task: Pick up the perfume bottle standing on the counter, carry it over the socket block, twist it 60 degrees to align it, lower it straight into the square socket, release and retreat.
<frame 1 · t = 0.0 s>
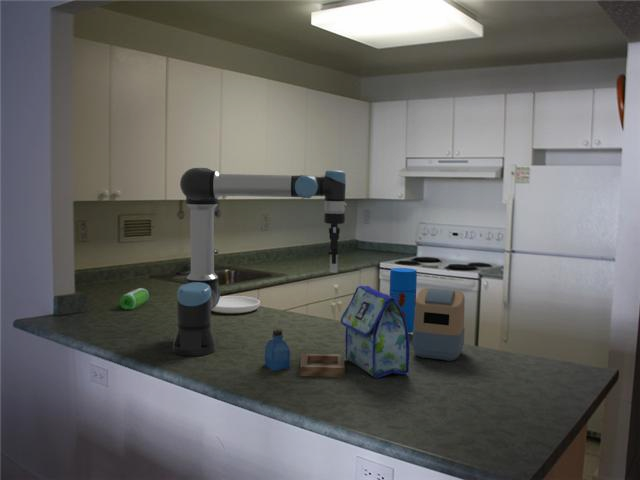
hand: (333, 269, 226), 28 cm above the worktop, fingers open, 13 cm apart
perfume bottle: (277, 367, 200), on the worktop
thermos: (401, 330, 250), on the worktop
socket block: (322, 369, 198), on the worktop
alarm clock: (437, 355, 216), on the worktop
lunch bag: (373, 368, 201), on the worktop
speaker: (134, 306, 284), on the worktop
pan: (219, 307, 287), on the worktop
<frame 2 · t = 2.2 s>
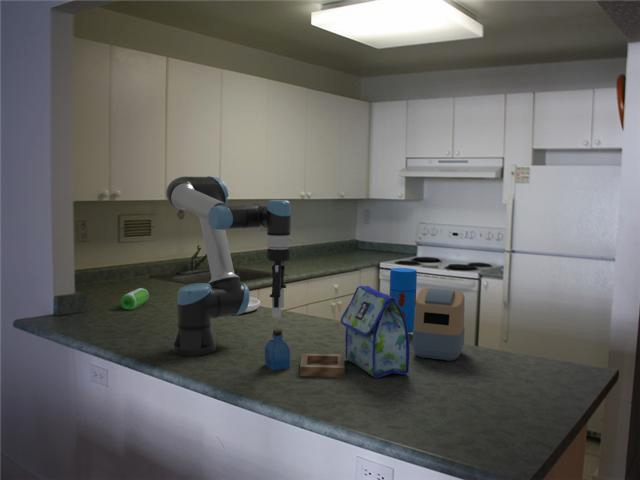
hand: (278, 312, 198), 18 cm above the worktop, fingers open, 13 cm apart
nothing on the worktop moved.
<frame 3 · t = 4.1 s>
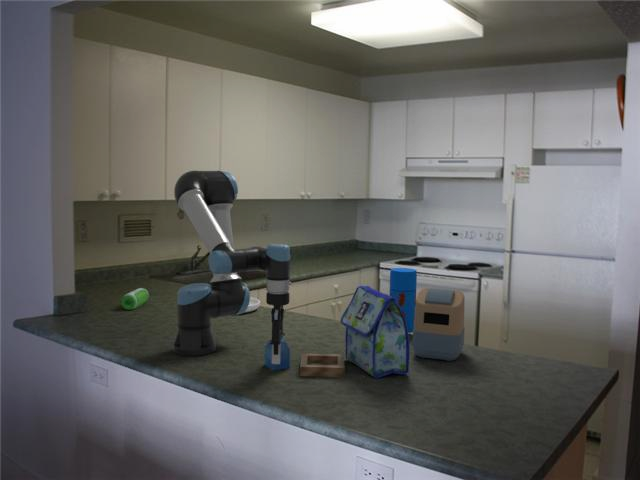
hand: (277, 359, 200), 2 cm above the worktop, fingers closed on perfume bottle, 8 cm apart
perfume bottle: (277, 366, 200), on the worktop, touching gripper
everything else where it was.
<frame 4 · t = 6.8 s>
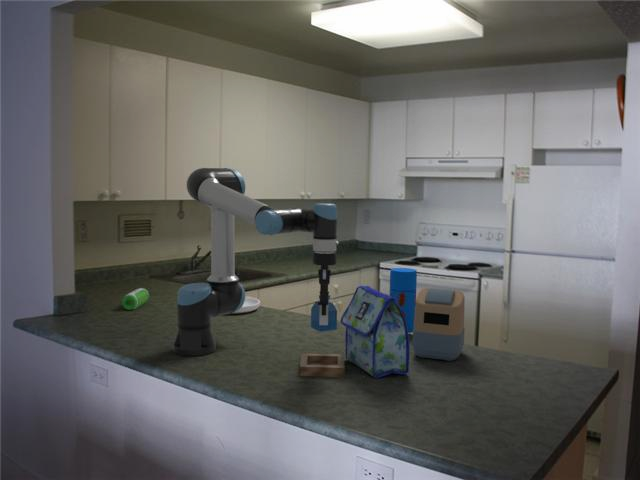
hand: (323, 321, 196), 16 cm above the worktop, fingers closed on perfume bottle, 8 cm apart
perfume bottle: (323, 329, 196), point 14 cm above the worktop, touching gripper
everything else where it was.
when the fingers open (5 cm above the worktop, at t = 9.6 s): perfume bottle drops 2 cm, resting on socket block.
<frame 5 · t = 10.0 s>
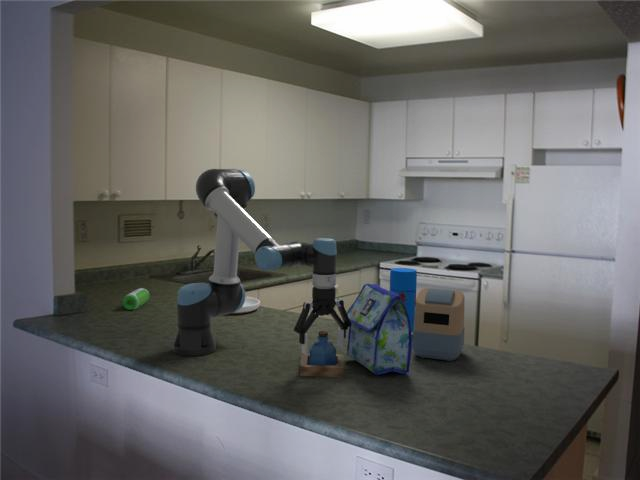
hand: (322, 350, 197), 6 cm above the worktop, fingers open, 13 cm apart
perfume bottle: (322, 368, 198), resting on socket block
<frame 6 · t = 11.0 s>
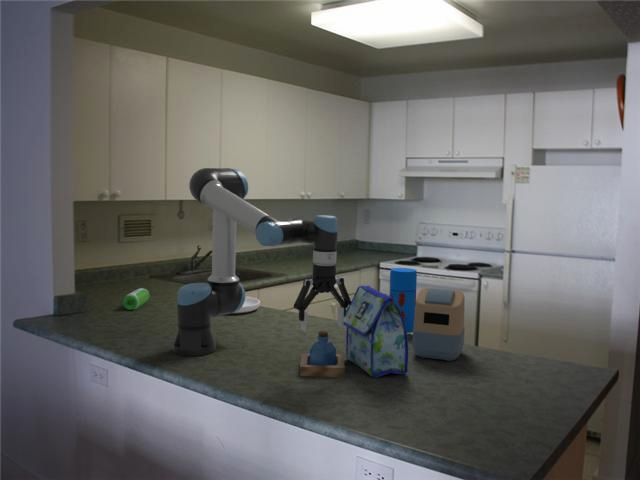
hand: (322, 328, 197), 14 cm above the worktop, fingers open, 13 cm apart
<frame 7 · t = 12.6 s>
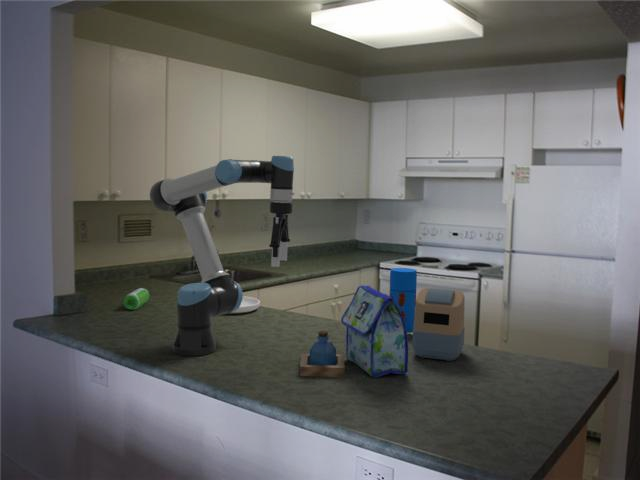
hand: (279, 263, 208), 33 cm above the worktop, fingers open, 13 cm apart
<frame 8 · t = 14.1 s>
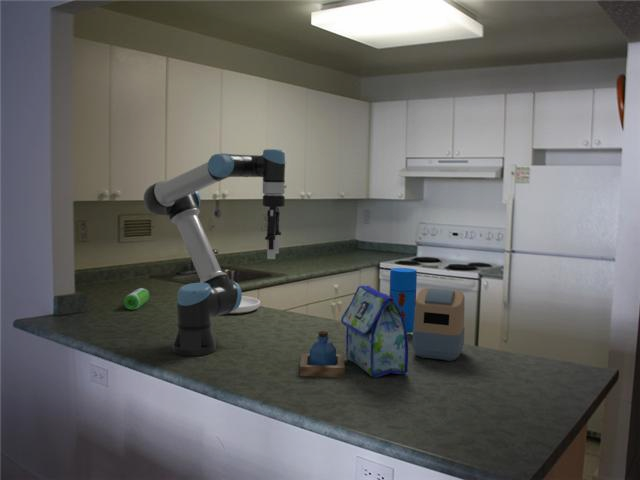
hand: (273, 256, 210), 35 cm above the worktop, fingers open, 13 cm apart
at the end: perfume bottle 0.0 cm off-centre on the socket block, point 0.1 cm above the socket block's base; perfume bottle tilted 0°; the gripper is holding nothing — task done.
